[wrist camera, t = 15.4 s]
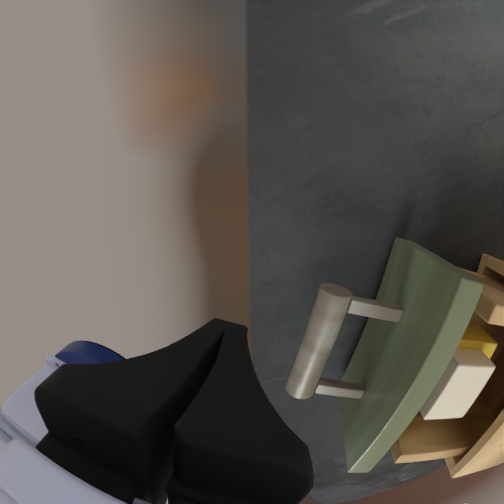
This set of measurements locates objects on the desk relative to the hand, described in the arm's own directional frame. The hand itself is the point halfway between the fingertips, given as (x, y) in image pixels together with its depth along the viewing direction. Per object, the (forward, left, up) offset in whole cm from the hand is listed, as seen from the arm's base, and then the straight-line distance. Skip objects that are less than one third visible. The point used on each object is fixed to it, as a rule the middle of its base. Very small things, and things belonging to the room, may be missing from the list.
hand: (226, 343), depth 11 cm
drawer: (+11, 0, -5) cm, 12 cm away
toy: (+11, 0, -4) cm, 12 cm away
